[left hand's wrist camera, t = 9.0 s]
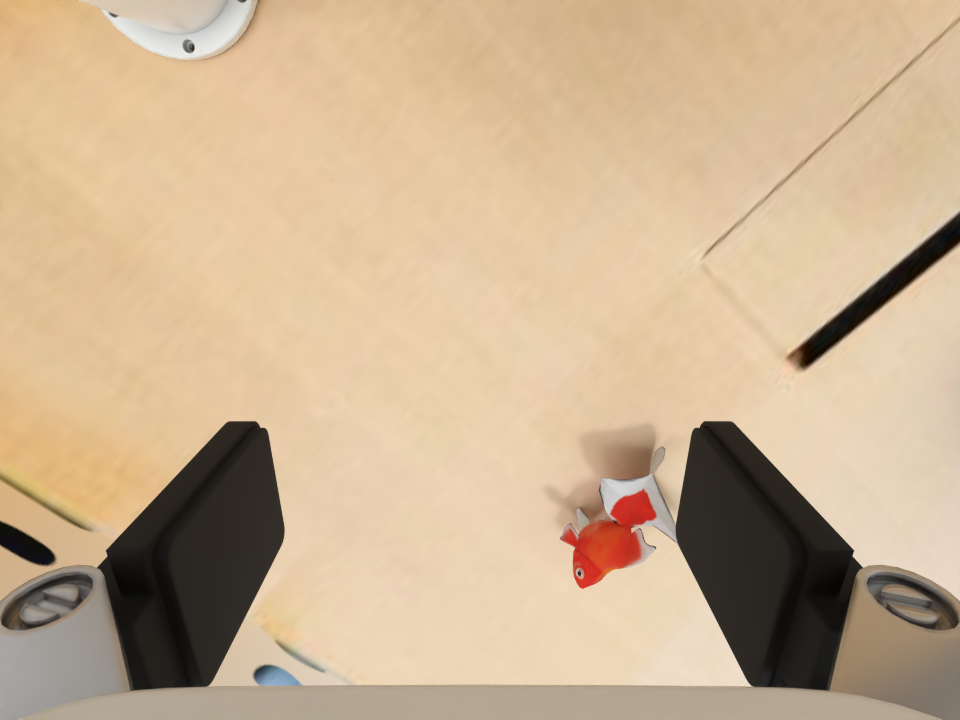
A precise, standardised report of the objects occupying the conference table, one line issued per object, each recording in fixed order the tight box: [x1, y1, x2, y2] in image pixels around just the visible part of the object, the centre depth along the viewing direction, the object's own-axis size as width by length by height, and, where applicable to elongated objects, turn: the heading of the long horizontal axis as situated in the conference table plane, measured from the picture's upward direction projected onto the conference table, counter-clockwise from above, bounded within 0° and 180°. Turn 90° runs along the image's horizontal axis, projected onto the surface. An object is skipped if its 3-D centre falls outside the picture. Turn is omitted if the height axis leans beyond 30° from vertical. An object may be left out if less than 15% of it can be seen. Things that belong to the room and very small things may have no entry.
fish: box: [560, 447, 678, 589], centre depth 51 cm, size 11×16×10 cm
